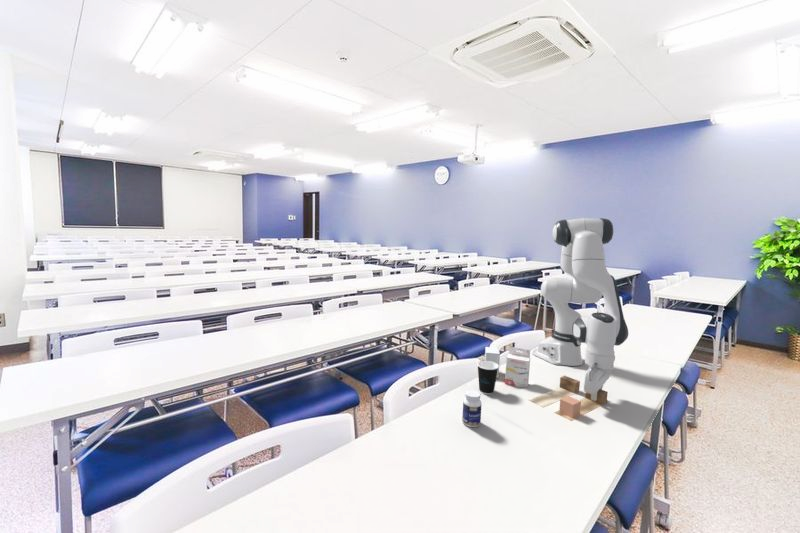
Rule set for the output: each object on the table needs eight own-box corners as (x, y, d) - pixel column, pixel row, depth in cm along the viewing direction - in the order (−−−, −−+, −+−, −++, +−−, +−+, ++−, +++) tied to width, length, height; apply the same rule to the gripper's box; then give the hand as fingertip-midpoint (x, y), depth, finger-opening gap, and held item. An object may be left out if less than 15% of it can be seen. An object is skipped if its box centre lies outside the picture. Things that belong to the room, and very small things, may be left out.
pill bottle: (469, 429, 111) (471, 399, 110) (458, 420, 116) (459, 391, 115) (484, 425, 114) (485, 395, 113) (472, 416, 119) (474, 387, 118)
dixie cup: (493, 388, 140) (495, 360, 139) (500, 397, 132) (501, 369, 131) (473, 388, 140) (474, 360, 139) (478, 397, 132) (479, 368, 131)
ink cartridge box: (504, 385, 142) (506, 349, 141) (506, 380, 147) (508, 345, 145) (527, 390, 139) (529, 353, 137) (528, 385, 143) (530, 349, 142)
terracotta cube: (559, 412, 120) (560, 399, 120) (567, 408, 123) (568, 395, 122) (572, 418, 116) (573, 404, 116) (579, 414, 119) (580, 401, 118)
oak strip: (553, 414, 120) (554, 401, 119) (589, 397, 132) (590, 385, 131) (571, 423, 115) (572, 408, 114) (606, 404, 127) (607, 391, 127)
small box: (498, 378, 149) (500, 353, 148) (484, 377, 150) (486, 352, 149) (497, 370, 157) (498, 347, 156) (484, 369, 158) (485, 346, 157)
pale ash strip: (528, 402, 128) (529, 389, 127) (564, 387, 140) (564, 375, 140) (543, 409, 123) (544, 396, 122) (578, 393, 135) (579, 381, 135)
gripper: (601, 370, 117) (597, 411, 119) (616, 354, 132) (613, 390, 134) (580, 365, 121) (577, 404, 123) (597, 350, 136) (594, 385, 138)
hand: (596, 397), depth 129 cm, fingers closed on oak strip, 3 cm apart
